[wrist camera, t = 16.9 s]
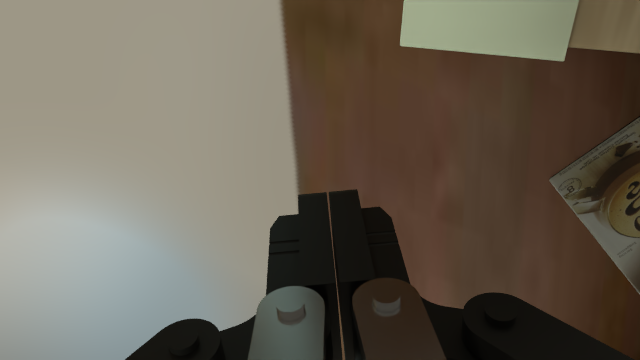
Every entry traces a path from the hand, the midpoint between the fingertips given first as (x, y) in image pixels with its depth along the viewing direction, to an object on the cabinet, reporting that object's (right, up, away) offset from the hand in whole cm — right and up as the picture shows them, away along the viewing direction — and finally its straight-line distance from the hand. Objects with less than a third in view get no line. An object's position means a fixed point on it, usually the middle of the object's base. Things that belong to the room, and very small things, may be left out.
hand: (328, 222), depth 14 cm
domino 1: (+5, +12, +21) cm, 25 cm away
